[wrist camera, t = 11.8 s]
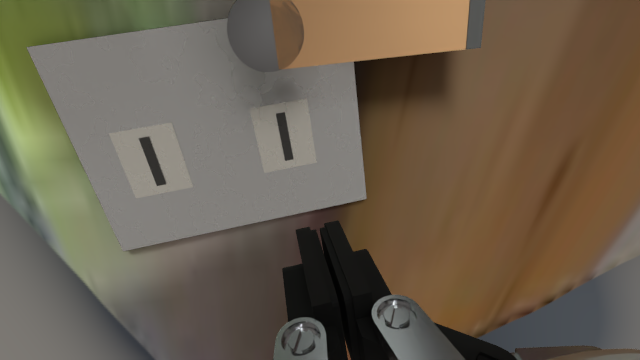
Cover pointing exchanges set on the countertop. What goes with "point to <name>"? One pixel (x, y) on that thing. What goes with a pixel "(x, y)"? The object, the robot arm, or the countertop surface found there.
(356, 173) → the board
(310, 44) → the swing arm
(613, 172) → the countertop surface
